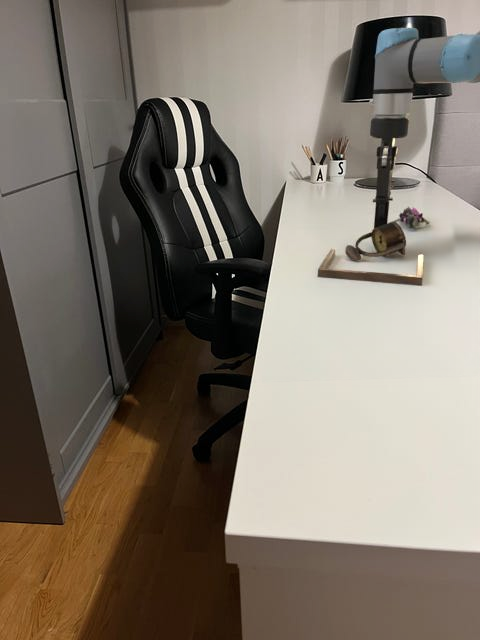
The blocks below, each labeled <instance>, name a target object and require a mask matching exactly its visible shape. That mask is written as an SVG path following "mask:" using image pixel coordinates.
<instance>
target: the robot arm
mask: <svg viewBox="0 0 480 640" xmlns="http://www.w3.org/2000/svg"><path fill="white" fill-rule="evenodd" d="M374 61H375V62H374V79H373V91H372V98H371V99H369V102H368V103H369V105H372V106H371V115H372V116H374V117H373V118H372V119H370V125H369V126H370V127H369V129H370V130H369V136H370V138H371V139H380V140H381V142H380V146H378V147H376V158H377V159H376V170H377V173H376V188H375V197H374V198H373V199H372V203H375V208H374V221H373V222H374V223H373V229H374V228H377V227H379V226H382V225H385V224H387V223H389V222H388V221H389V211H390V201H391V202H392V201H393V200H394V197H391V195H392V192H391V191H392V182H393V171H394V168H395V166H396V159H397V154H398V149H399V147H398V146H395V144H396V143H395V142H396V139H404V138H407V137H408V135H409V127H410V119H409V117H408V116H409V115H411V110H412V103H413V102H412V101H413V88H414V84H446V83H447V84H448V83H450V84H456V83H457V84H459V83H468V84H477V83H480V30H479V31H477V32H476V33H475V34H468V33H467V34H465V33H464V34H463V33H460V34H459V33H458V34H456V35H448V36H447V35H446V36H439V37H430V38H420V37H419V30H418V29H417V28H415V27H395V28H388V29H384V30H382V31H380V33H379V34H378V36H377V42H376V49H375V55H374Z"/></svg>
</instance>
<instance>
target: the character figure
mask: <svg viewBox="0 0 480 640" xmlns="http://www.w3.org/2000/svg"><path fill="white" fill-rule="evenodd" d="M423 215H424V213H423V212H421V213H420V212H419V211H418V209H417V208H415V207H414V206H412V208H411V207H410V206H407V207H406V208H404V209H403V211H402V212H400V213H399V215H398V217H399V218H397V219H395V220H392V221H393V222H396V223H398V222H400V223H406V225H407V226H408V227H410V228H411V229H414V228H417V225H418V224H419V223H420V224H421V223H425V226H428V225H430V221H428V220H427V219H425V218H424V217H423Z"/></svg>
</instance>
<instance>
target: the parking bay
mask: <svg viewBox="0 0 480 640" xmlns="http://www.w3.org/2000/svg"><path fill="white" fill-rule="evenodd" d="M335 256H336V248H330V250H329V251H328V253H327V254H326V256H325V258H324V259H323V261H322V262H321V264H320V266H319V267H318V268H317V277H318V278H327V279H329V278H330V279H338V280H339V279H341V280H351V281H364V282H365V281H366V282H376V283H387V284H400V285H411V286H422V285H423V277H424V276H423V275H424V254H418V255H417V265H416V275H413V274H401V273H391V272H390V273H389V272H388V273H387V272H375V271H364V270H362V271H361V270H350V269H339V268H329V267H330V265H331V264H332V263H333V260H334V258H335Z"/></svg>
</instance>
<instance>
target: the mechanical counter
mask: <svg viewBox="0 0 480 640" xmlns="http://www.w3.org/2000/svg"><path fill="white" fill-rule="evenodd" d="M393 221H394V220H392V221H390V222H387V224H385V225H382V226H379V227H377V228H374V227H373V229H372V230H371V232H368V233H365V234H362V235H361V236H360V237H359V238H357V240H356V241H355V244H354V245H351V244H347V245H346V246H345V249H344V251H345V255H346V256H347V257H348V258H349V260H352V261H360V260H361V259H362V257H368V258H379V257H387V256H390V255H392V254H394V253H397V252H398V253H399V254H401V256H402V257H404V256H405V257H406V247H407V237H406V235H405V232H404V231H403V229H402V227H401V225H400V224H399V223H398V222H393ZM369 238H371V241H372V245H373V248H374V250H375V251H376V252H369V251H365V250H363V249H361V248H360V247H359V244H361V242H362V241H364V240H366V239H369Z"/></svg>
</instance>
